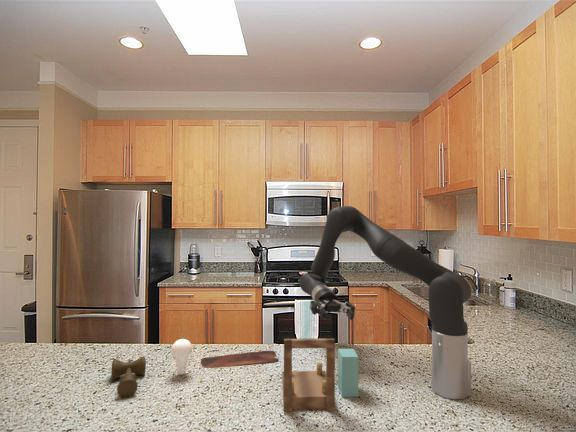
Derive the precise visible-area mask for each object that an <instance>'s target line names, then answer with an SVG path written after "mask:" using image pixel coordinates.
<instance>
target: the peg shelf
mask: <svg viewBox="0 0 576 432" xmlns="http://www.w3.org/2000/svg"><path fill="white" fill-rule="evenodd" d="M293 349H325V350H326V355H325V356H326V358H325V360H326V361H325V363H326V364H325V369H326V370H323V363H322V362H317V363H316V370H308V371H307V370H305V371H304V370H302V371H301V370H297V371H295V370H294V371H293ZM335 350H336V339H335V338H334V337H333V338H331V337H330V338H284V339H283V371H282V372H281V373H282V376H281V378H282V379H281V380H282V381H281V383H282V384H283V385H282V399H283V400H282V401H283V402H282V404H283V412H284V413H285V412H286V413H288V412H292V411H293V410H301V409H304V410H306V409H307V410H309V409H317V410H318V409H319V410H320V409H326V412H335V411H336V410H335V408H336V407H335V403H336V401H335V399H336V396H335V394H336V393H335V391H336V386H335V385H336V379H335V378H336V376H335V375H336V374H335V373H336V372H335V371H336V365H335V364H336V359H335V358H336V352H335Z"/></svg>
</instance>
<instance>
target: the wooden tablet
mask: <svg viewBox="0 0 576 432" xmlns="http://www.w3.org/2000/svg"><path fill="white" fill-rule="evenodd" d="M278 362H279V359H278V358H277V352H276V351H274V350H261V351H260V350H259V351H250V352H249V351H248V352H240V353H231V354H225V355H215V356H208V357H203V358H201V359H200V364H201V366H202V367H203V368H204V369H217V368H230V367H237V366H238V367H239V366H246V365H247V366H248V365H259V364H260V365H261V364H273V363H278Z"/></svg>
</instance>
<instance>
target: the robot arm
mask: <svg viewBox="0 0 576 432" xmlns="http://www.w3.org/2000/svg"><path fill="white" fill-rule="evenodd" d="M345 232H346V233H347V232H352V233H354V234H355V235H357V236H359V237H360V238H362V240H364V241H365V242H366V244H367V245H368V247H369V248H370V251H372V254H373V255H374V256H376V258H377V259H378V260H379V259H380V261H382V262H383V263H385V264H386V265H388V266H389V267H391V268H392V269H394V270H396V271H397V272H398V271H399V272H401V273H403V274H407V275H408V276H411V277H413V278H416V279H418V280H419V281H421V282H422V283H425V284H426V285H427V286H428V312H429V313H428V315H429V320H430V322H431V389H432V391H433V392H434V394H437V395H438V396H440V397H442V398H445V399H449V400H464V399H466V398H468V397H472V362H471V361H470V360H469V359H468V358H469V357H468V356H469V354H468V353H469V350H468V347H469V346H468V344H469V343H468V340H469V339H468V338H469V337H468V336H469V335H468V332H469V331H468V329H469V328H468V323H467V322H466V321H465V318H464V317H465V316H464V315H465V314H464V304H465V303H466V302H468V301H469V300H470V298H471V297H472V288H471V285H470V283H469V282H468V280H466V279H465V277H464V276H462V275H461V274H458V273H457V272H455V271H453V270H450V269H449V268H447V267H445V266H443V265H441V264H439V263H437V262H435V261H433V260H432V259H431V258H429V257H428V256H426V255H425V254H423V253H422V252H421V251H420V250H418V249H416V248H414V247H413V246H412V245H410V244H408V243H407V242H406V241H404V240H402V239H401V238H399V237H398V236H397V235H395V234H393V233H391V232H390V231H388V230H386V229H385V228H383V227H382V226H380V225H378V224H376V223H375V222H373V221H372V220H371V219H370V218H369V217H367V216H366V215H365V214H363V212H361V211H360V209H359V210H358V209H357V208H355V206H351V205H343V206H337V207H334V208H332V209H330V211H329V213H328V215H327V218H326V222H325V226H324V230H323V233H322V235H321V236H322V237H321V242H320V245H319V247H318V250H317V252H316V255H315V256H314V259H313V262H312V264H311V267H310V269H311V272H312V273H309V272H308V273H307V272H306V273H304V274H302V276H300V279H299V286H300V289H301V290H302V291H303V292H304V293H305V294H307V295H309V296H310V297H311V298H312V300H310V303H309V304H310V305H309V309H310V311H311V314H312V315H314V316H316V315H317V314H318V316H320V317H321V318H322V319H323V320H327V319H328V314H329V313H333V314H334V313H336V314H339V315H344V316H345V315H346V316H347V318H348V319H349V320H350V321H353V319H354V318H355V310H356V306H355V305H354V304H352V303H351V302H350V301H348V300H347V301H345V303H344V302H341V301H340V300H339V298H338V296H337V295H336V294H335V292H334V291H333V290H332V289H331V288H330V287H329V286H327V278H328V274H329V271H330V270H331V267H332V265H333V263H334V260H335V255H336V251H335V249H336V244H337V243H336V242H337V241H338V239H339V237H340V236H341V234H342V233H345Z"/></svg>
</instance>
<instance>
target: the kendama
mask: <svg viewBox="0 0 576 432" xmlns="http://www.w3.org/2000/svg"><path fill="white" fill-rule="evenodd" d="M146 364H147V360H146V356H142V357H139V358H138V359H136V360H134V361H131V358H129V359H128V361H127V362H126V361H121V360H120V359H119V360H118V359H116V358H114V359H113V360H112V363H111V370H110V372H111V377H110V378H111V380H112V381H115V380H117V379H119V380H118V384H117V387H116V391H117V394H118V396H119V397H122V398H127V397H132V396H133V395H135V393H137V390H138V382H137V380H138V379H137V376H136V375H139V376H142V377H143V376H145V374H146V370H147V368H146V367H147V365H146Z"/></svg>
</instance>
